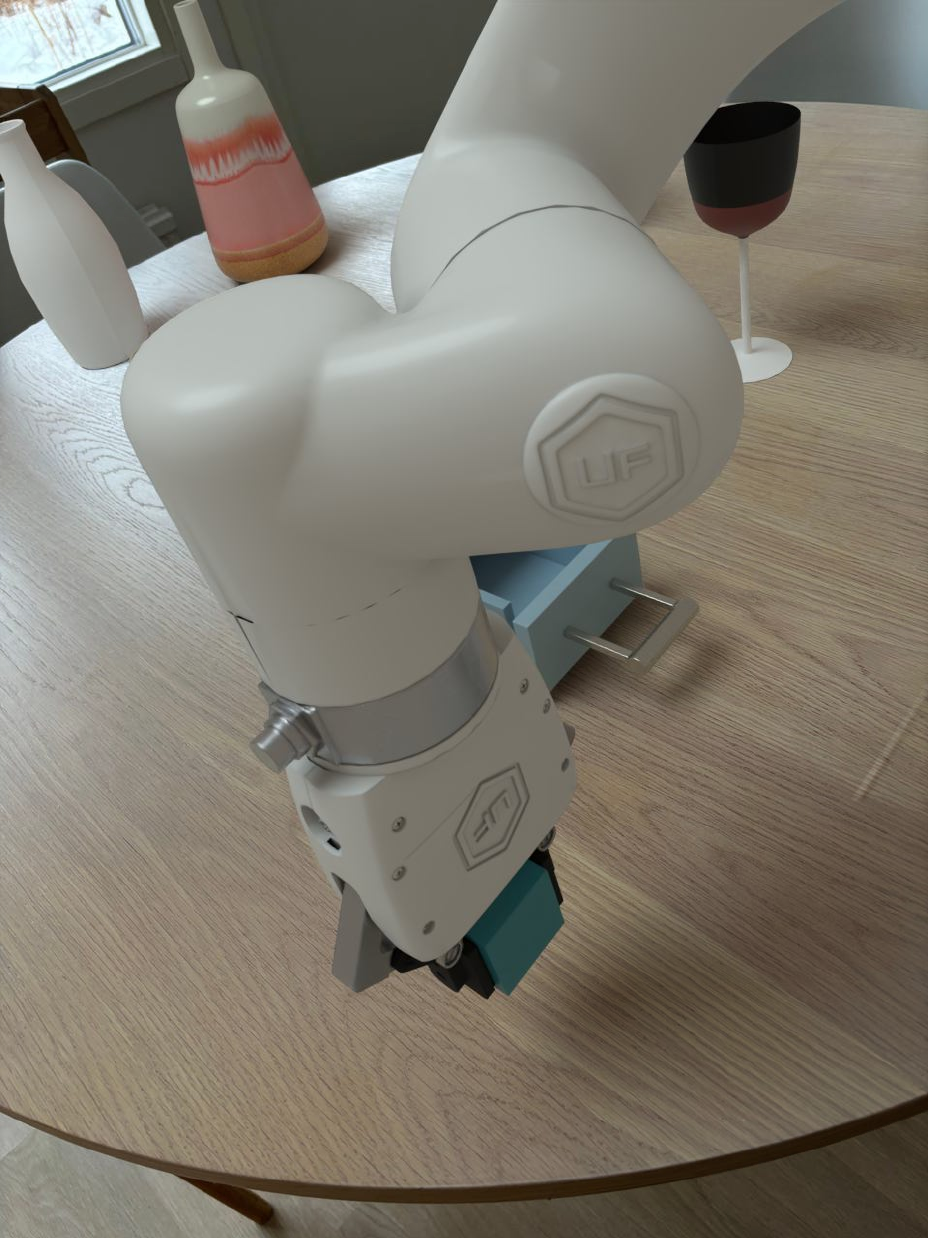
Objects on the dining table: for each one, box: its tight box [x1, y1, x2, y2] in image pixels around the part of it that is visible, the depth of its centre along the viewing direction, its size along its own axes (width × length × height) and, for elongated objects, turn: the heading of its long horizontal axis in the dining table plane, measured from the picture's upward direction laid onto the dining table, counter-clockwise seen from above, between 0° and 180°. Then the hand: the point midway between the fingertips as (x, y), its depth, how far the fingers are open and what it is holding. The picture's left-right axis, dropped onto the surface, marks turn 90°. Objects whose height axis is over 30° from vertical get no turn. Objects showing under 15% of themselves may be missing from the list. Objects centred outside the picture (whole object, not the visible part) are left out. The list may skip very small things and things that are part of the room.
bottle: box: [0, 118, 149, 370], centre depth 111 cm, size 11×11×25 cm
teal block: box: [464, 859, 565, 997], centre depth 44 cm, size 4×4×4 cm
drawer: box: [469, 532, 700, 692], centre depth 67 cm, size 20×11×6 cm, turn 50°
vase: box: [173, 0, 330, 284], centre depth 117 cm, size 14×14×30 cm
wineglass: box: [682, 100, 802, 384], centre depth 82 cm, size 8×9×20 cm
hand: (499, 931), depth 46 cm, fingers closed on teal block, 4 cm apart
